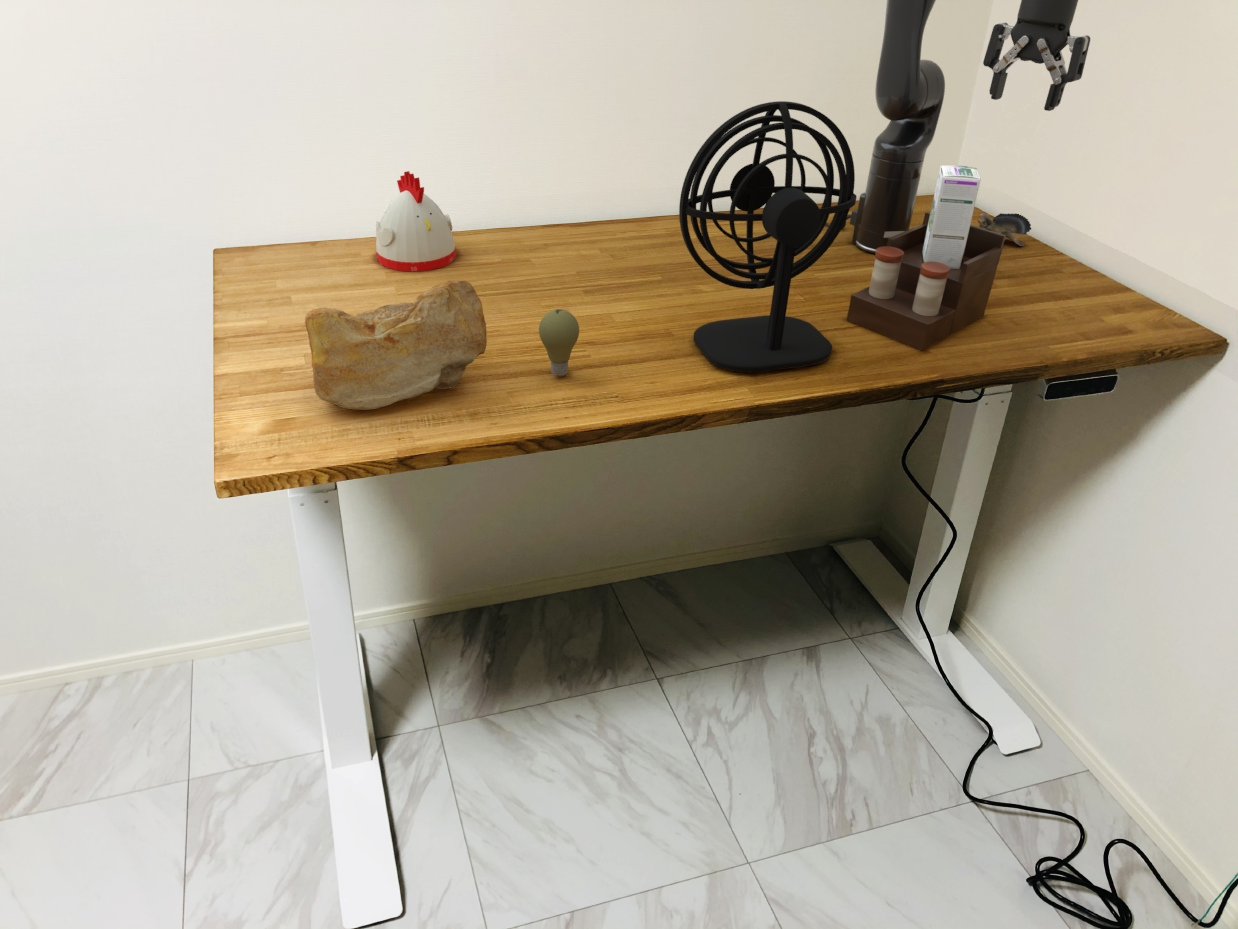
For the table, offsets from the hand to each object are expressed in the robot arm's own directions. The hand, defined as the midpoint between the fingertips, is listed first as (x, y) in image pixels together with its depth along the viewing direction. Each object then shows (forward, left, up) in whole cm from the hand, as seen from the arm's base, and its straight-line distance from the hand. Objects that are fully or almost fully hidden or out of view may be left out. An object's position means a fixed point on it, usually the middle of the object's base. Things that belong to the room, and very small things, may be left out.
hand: (1021, 104), depth 141 cm
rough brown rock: (-38, -89, -32) cm, 102 cm away
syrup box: (-2, -10, -23) cm, 26 cm away
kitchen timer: (-75, -62, -32) cm, 103 cm away
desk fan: (-12, -41, -32) cm, 54 cm away
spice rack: (-2, -14, -32) cm, 35 cm away
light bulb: (-25, -71, -32) cm, 82 cm away
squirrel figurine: (-10, +29, -32) cm, 45 cm away
